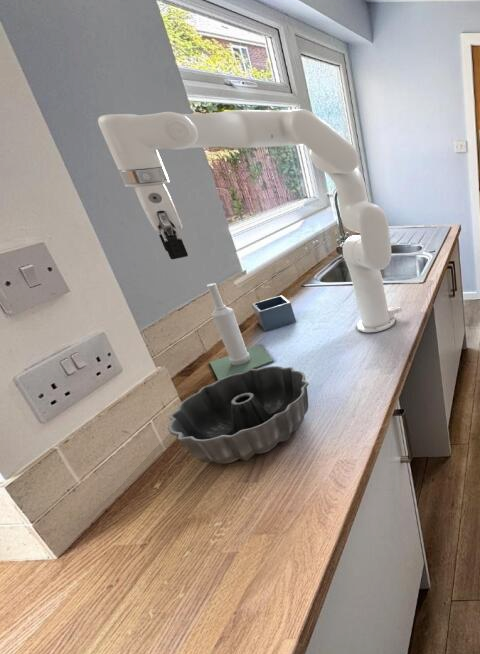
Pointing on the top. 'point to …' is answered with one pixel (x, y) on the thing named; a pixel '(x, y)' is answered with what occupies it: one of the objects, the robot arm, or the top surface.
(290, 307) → the box
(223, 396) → the bundt pan
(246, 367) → the mat
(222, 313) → the bottle
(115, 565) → the top surface
